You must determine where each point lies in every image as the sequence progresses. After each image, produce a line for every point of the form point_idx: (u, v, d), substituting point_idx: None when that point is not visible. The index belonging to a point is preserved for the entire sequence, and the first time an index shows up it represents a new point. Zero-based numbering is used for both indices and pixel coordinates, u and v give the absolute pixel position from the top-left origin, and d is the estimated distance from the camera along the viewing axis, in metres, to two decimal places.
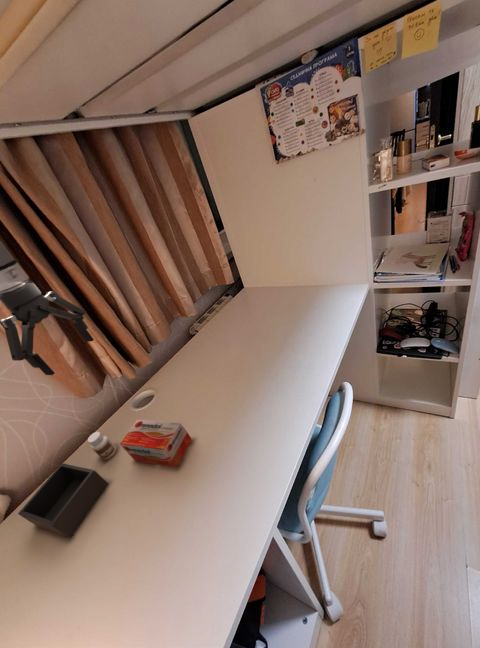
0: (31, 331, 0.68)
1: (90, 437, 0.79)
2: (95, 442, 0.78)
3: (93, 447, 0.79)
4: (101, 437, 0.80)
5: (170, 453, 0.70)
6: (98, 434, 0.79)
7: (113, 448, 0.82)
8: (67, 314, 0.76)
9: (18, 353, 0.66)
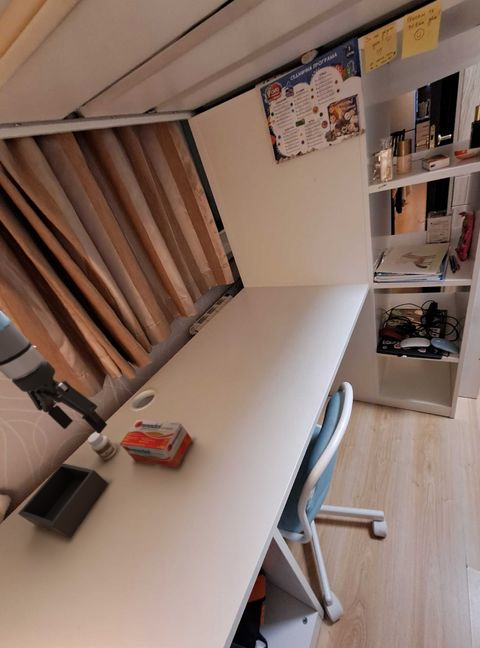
0: None
1: (90, 437, 0.79)
2: (95, 442, 0.78)
3: (93, 447, 0.79)
4: (101, 437, 0.80)
5: (170, 453, 0.70)
6: (98, 434, 0.79)
7: (113, 448, 0.82)
8: None
9: None
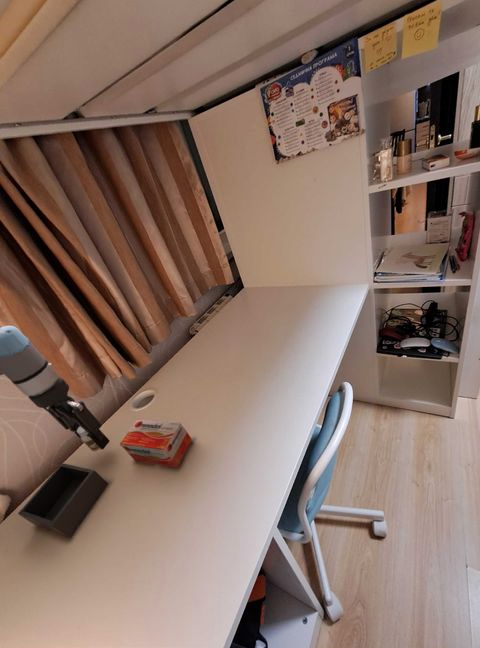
0: None
1: (80, 428, 0.77)
2: (85, 432, 0.76)
3: (82, 438, 0.77)
4: None
5: (170, 453, 0.70)
6: None
7: None
8: None
9: None
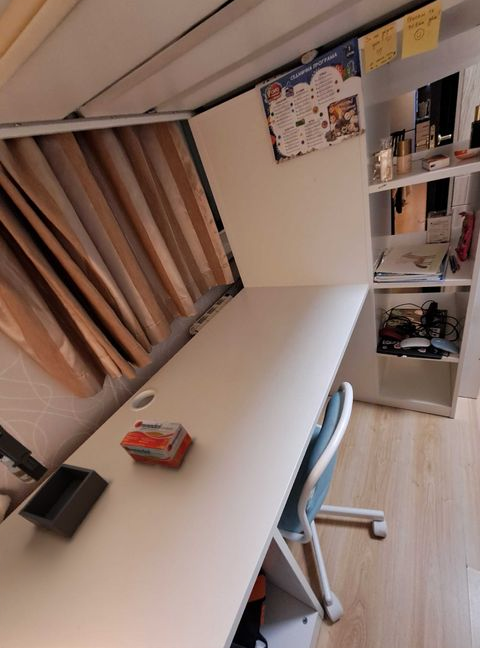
0: None
1: None
2: (11, 461, 0.60)
3: (9, 468, 0.61)
4: None
5: (170, 453, 0.70)
6: None
7: None
8: None
9: None
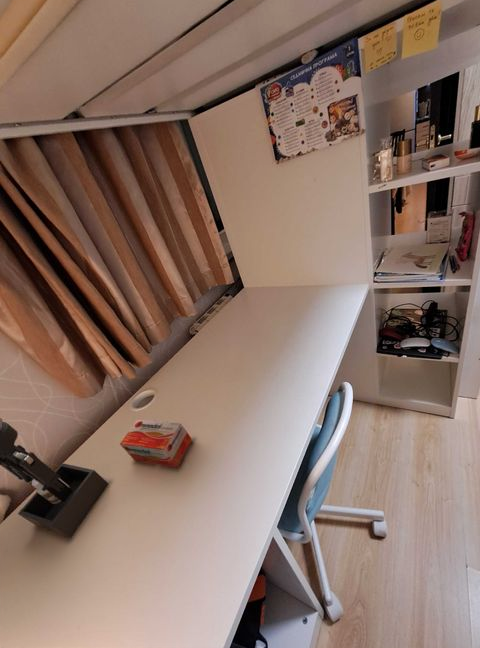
0: None
1: None
2: (40, 484, 0.65)
3: (38, 490, 0.65)
4: None
5: (170, 453, 0.70)
6: None
7: None
8: None
9: None
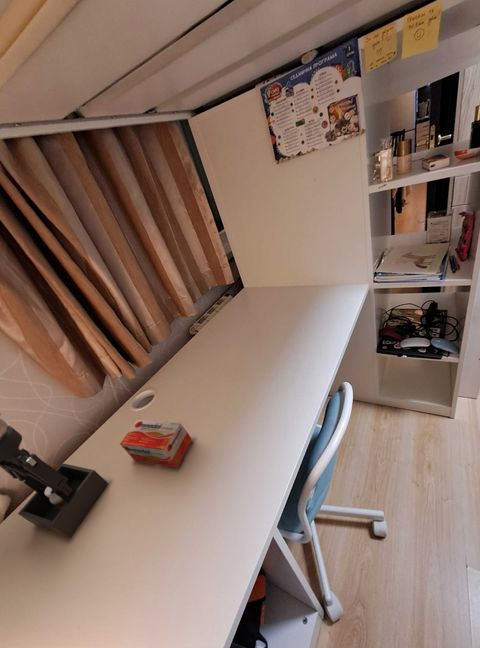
0: None
1: (48, 488, 0.68)
2: (53, 494, 0.67)
3: (51, 500, 0.68)
4: None
5: (170, 453, 0.70)
6: None
7: None
8: None
9: None
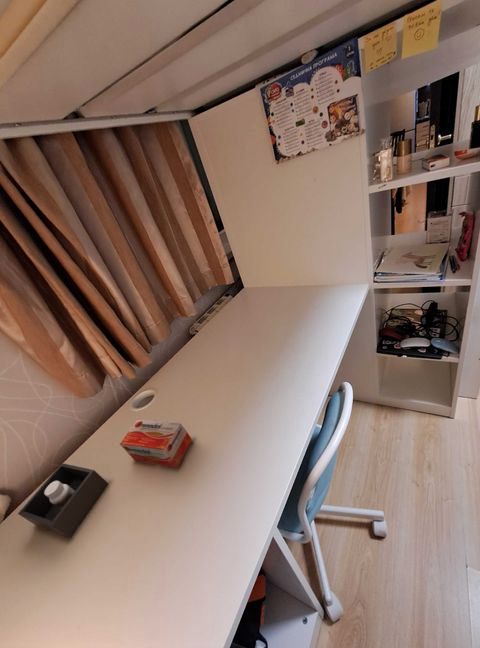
0: None
1: (48, 488, 0.68)
2: (53, 494, 0.67)
3: (51, 500, 0.68)
4: (61, 487, 0.69)
5: (170, 453, 0.70)
6: (57, 484, 0.68)
7: None
8: None
9: None
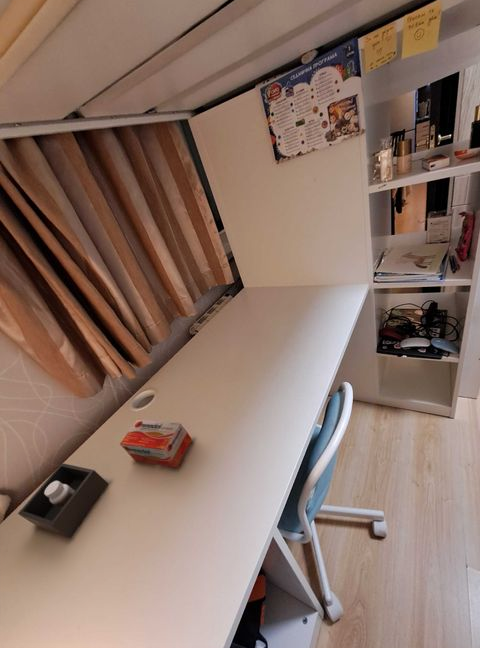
0: None
1: (48, 488, 0.68)
2: (53, 494, 0.67)
3: (51, 500, 0.68)
4: (61, 487, 0.69)
5: (170, 453, 0.70)
6: (57, 484, 0.68)
7: None
8: None
9: None
